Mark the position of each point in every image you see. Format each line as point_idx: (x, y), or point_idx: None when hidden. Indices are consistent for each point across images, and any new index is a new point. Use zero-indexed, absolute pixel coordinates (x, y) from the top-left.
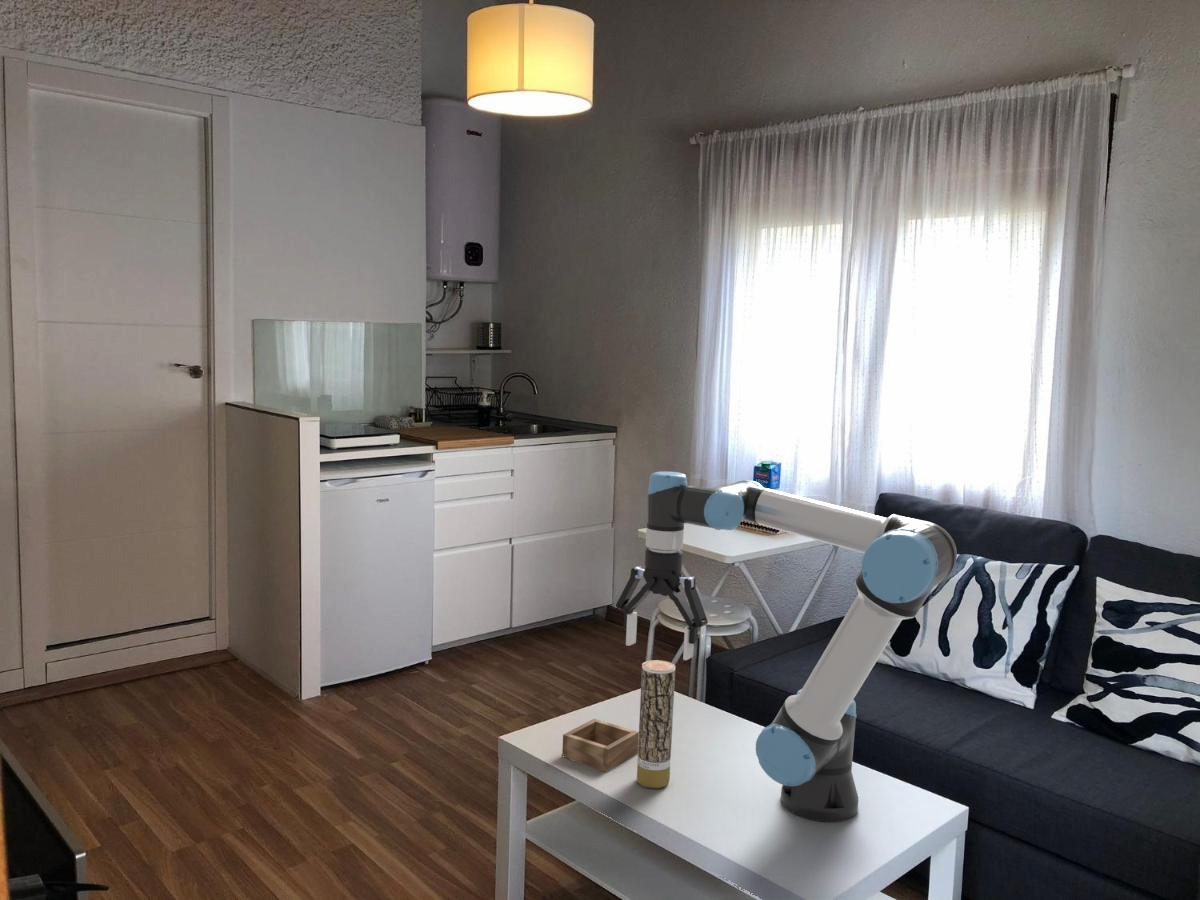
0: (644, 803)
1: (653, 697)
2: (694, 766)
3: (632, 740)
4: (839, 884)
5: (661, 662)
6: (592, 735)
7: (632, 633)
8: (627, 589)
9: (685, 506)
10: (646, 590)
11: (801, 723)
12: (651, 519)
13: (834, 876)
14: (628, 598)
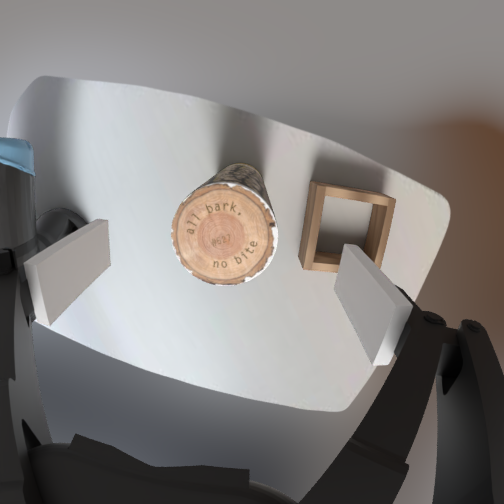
0: (222, 123)
1: (220, 175)
2: None
3: (304, 250)
4: (13, 114)
5: (230, 268)
6: (367, 254)
7: (352, 282)
8: (497, 411)
9: None
10: (330, 476)
11: None
12: None
13: (18, 123)
14: (449, 392)
